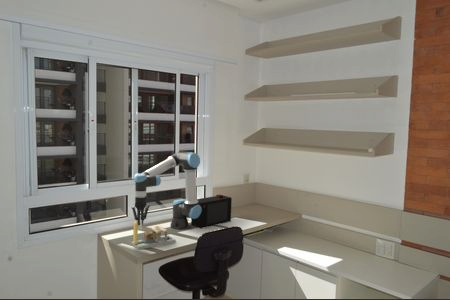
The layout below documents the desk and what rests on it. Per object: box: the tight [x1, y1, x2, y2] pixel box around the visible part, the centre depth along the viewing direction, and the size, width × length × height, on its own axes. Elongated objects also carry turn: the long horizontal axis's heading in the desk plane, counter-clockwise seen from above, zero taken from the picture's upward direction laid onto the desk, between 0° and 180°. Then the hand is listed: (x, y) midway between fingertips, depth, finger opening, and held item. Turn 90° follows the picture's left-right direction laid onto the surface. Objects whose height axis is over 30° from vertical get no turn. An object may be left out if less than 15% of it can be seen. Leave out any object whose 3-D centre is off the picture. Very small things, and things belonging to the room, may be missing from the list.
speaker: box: [190, 194, 233, 229], centre depth 302 cm, size 15×35×24 cm, turn 133°
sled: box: [132, 221, 156, 244], centre depth 242 cm, size 14×7×15 cm, turn 125°
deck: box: [131, 234, 176, 251], centre depth 247 cm, size 29×12×2 cm, turn 125°
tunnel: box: [149, 225, 168, 243], centre depth 249 cm, size 8×12×8 cm, turn 35°
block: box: [143, 230, 153, 240], centre depth 244 cm, size 5×5×5 cm
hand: (140, 229), depth 240 cm, fingers closed
